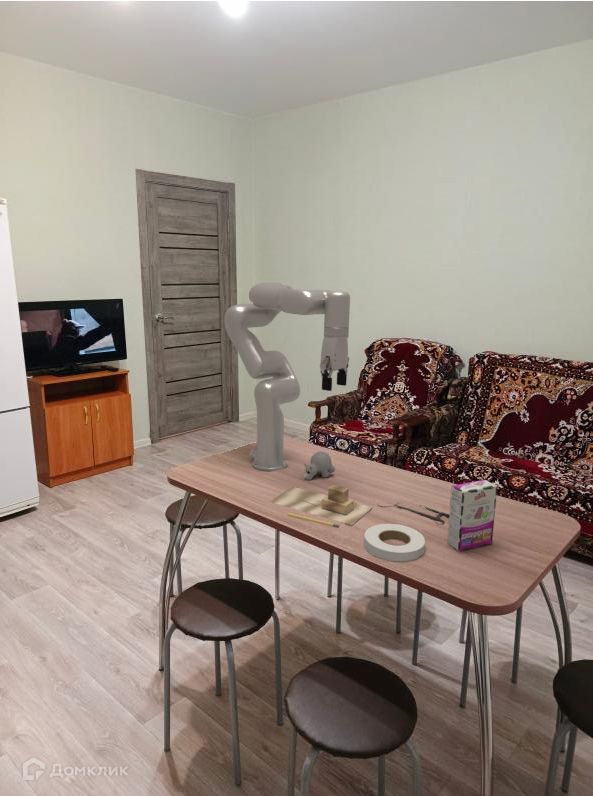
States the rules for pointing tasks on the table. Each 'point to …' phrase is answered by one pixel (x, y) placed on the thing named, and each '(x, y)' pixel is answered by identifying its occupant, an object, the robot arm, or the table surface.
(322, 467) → the toy rhinoceros
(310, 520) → the pencil
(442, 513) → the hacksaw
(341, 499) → the cork sanding block
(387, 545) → the roll of tape
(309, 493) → the birch board
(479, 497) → the candy bar box
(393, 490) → the table surface
